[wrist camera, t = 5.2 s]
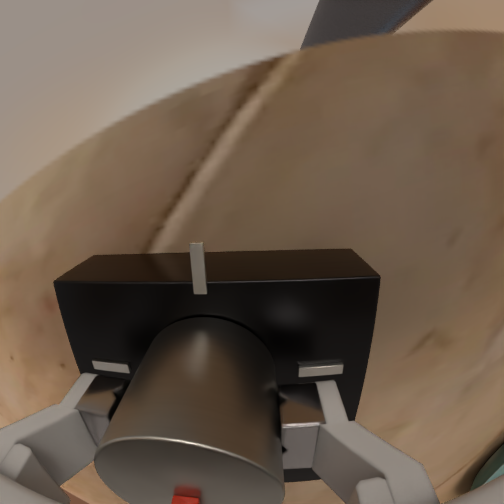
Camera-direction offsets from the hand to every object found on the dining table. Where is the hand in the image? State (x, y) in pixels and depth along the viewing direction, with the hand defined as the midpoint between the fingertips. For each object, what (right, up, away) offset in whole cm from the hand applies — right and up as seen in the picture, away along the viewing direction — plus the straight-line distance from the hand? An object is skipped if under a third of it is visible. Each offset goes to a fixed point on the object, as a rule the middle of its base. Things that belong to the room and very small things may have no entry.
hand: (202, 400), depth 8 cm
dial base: (0, -1, +5) cm, 5 cm away
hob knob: (0, 0, +1) cm, 1 cm away
